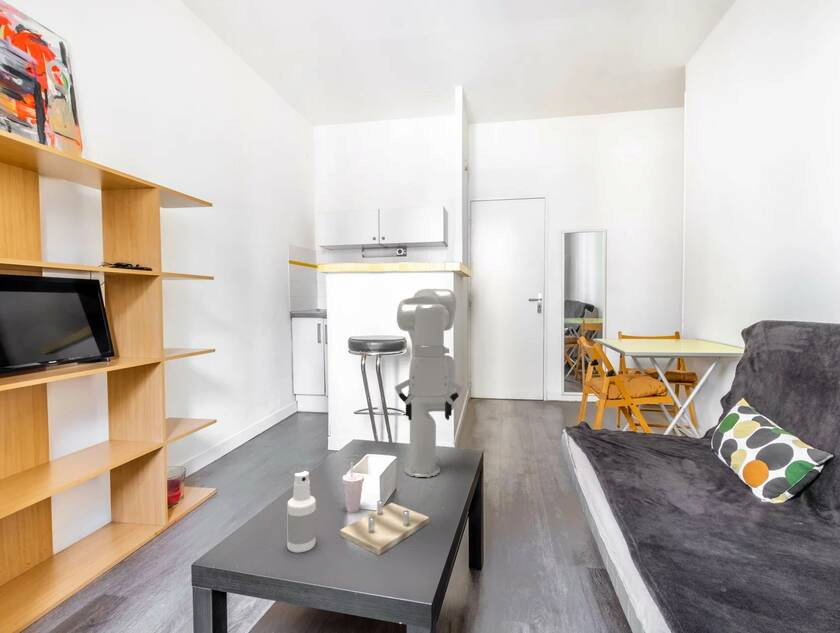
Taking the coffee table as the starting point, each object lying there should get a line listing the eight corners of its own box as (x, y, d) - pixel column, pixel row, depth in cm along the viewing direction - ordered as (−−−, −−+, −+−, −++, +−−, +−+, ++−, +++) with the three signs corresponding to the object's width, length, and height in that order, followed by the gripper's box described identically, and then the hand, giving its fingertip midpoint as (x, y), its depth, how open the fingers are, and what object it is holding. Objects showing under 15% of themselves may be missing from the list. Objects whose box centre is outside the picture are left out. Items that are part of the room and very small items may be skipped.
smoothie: (337, 509, 123) (337, 462, 123) (354, 502, 128) (355, 456, 128) (351, 517, 119) (351, 467, 119) (368, 509, 124) (368, 462, 123)
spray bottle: (291, 556, 100) (291, 481, 99) (284, 542, 105) (284, 471, 105) (319, 548, 103) (319, 475, 103) (310, 535, 109) (311, 466, 109)
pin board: (391, 507, 125) (391, 490, 125) (429, 522, 116) (429, 504, 116) (339, 535, 109) (340, 516, 109) (379, 555, 100) (379, 534, 100)
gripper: (459, 351, 112) (459, 414, 112) (395, 350, 111) (394, 415, 111) (464, 353, 105) (464, 422, 105) (395, 353, 103) (395, 423, 104)
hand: (428, 418), depth 108 cm, fingers open, 9 cm apart
